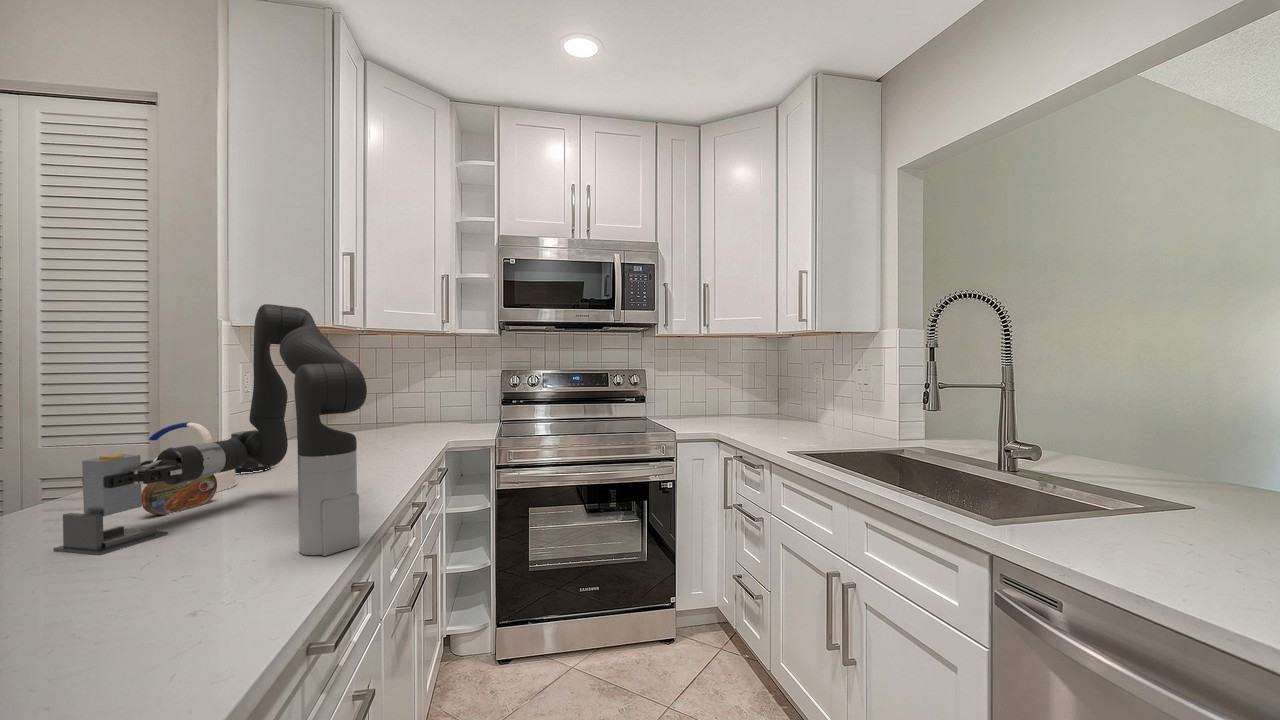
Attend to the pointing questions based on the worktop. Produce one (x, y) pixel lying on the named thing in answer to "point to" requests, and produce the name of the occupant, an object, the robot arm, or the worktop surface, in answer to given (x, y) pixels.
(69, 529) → the bracket
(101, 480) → the metal block with pad
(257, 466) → the supplement container
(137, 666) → the worktop surface
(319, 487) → the robot arm
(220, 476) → the kettle
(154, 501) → the tin
